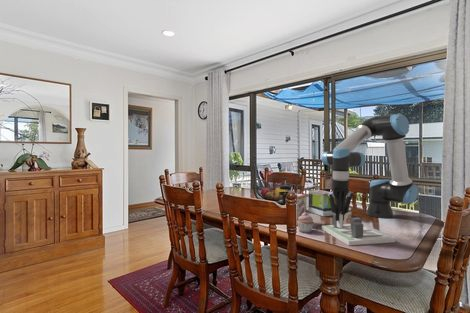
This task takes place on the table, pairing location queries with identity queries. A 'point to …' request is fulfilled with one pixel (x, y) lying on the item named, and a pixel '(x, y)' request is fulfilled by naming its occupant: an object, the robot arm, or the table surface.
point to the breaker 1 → (334, 220)
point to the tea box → (320, 203)
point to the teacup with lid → (347, 217)
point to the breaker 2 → (357, 229)
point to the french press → (284, 187)
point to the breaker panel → (368, 237)
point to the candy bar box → (301, 204)
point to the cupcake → (305, 223)
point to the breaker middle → (355, 220)
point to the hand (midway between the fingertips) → (339, 227)
